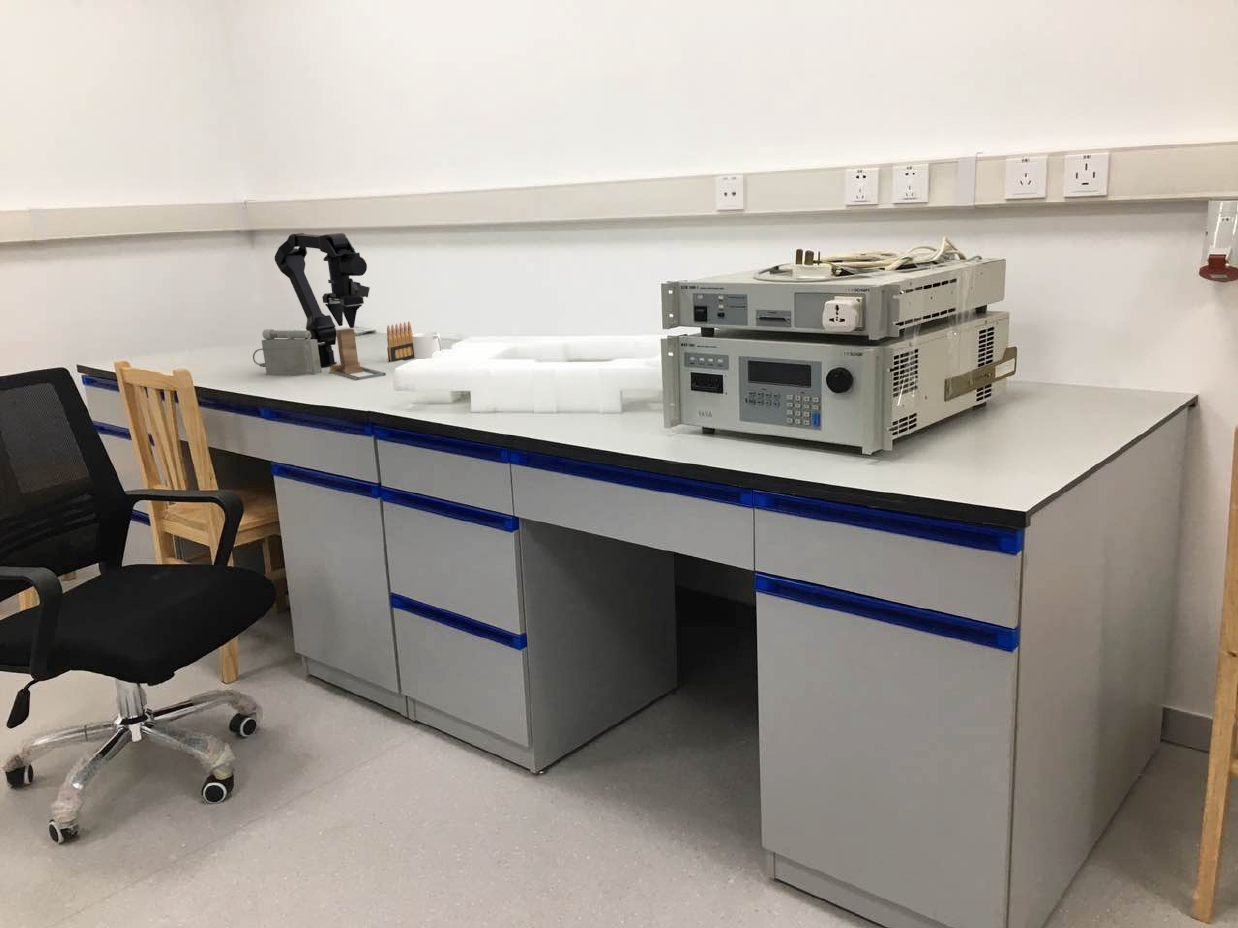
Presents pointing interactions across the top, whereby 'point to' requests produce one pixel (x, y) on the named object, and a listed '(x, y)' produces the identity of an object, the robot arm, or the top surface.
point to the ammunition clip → (400, 343)
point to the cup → (426, 344)
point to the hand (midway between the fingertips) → (346, 326)
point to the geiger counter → (289, 353)
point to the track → (376, 374)
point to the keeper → (348, 351)
